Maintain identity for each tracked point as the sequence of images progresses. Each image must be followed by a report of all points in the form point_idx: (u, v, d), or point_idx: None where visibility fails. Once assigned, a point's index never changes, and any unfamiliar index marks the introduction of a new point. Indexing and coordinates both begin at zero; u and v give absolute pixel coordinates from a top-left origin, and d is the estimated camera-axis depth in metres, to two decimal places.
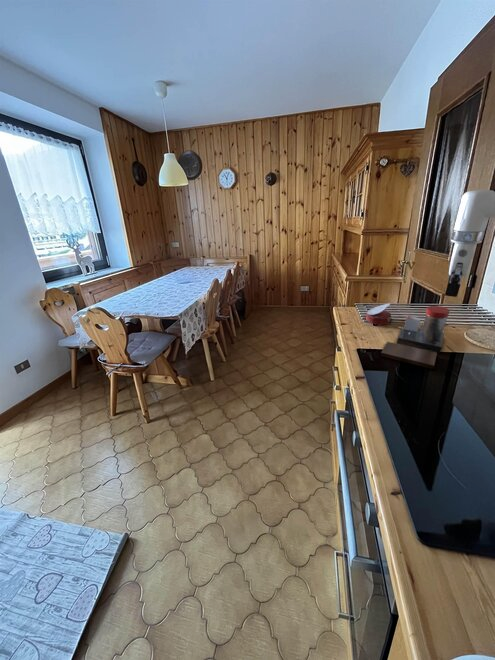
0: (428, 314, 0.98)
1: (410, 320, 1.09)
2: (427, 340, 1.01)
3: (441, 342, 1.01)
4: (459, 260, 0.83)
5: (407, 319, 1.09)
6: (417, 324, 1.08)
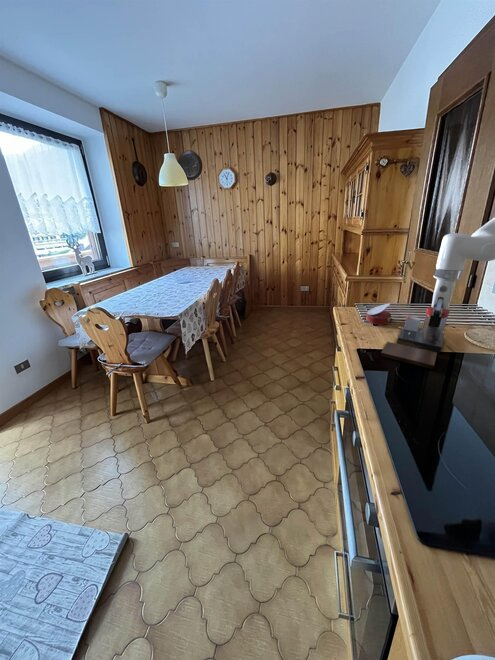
0: (428, 314, 0.98)
1: (410, 320, 1.09)
2: (427, 340, 1.01)
3: (441, 342, 1.01)
4: (440, 295, 0.92)
5: (407, 319, 1.09)
6: (417, 324, 1.08)
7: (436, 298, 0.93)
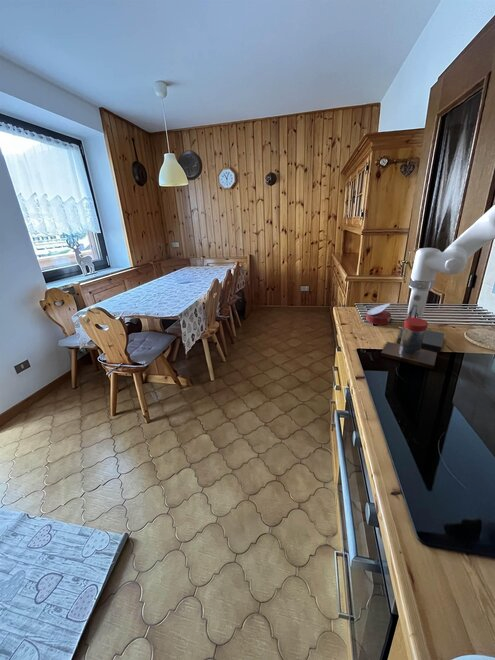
0: (406, 327, 0.93)
1: None
2: (405, 354, 0.96)
3: (441, 342, 1.01)
4: (414, 303, 1.02)
5: None
6: None
7: (411, 306, 1.03)
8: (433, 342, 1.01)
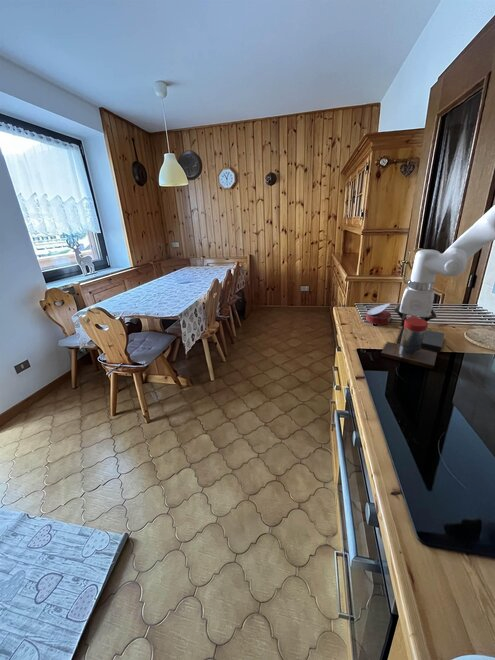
0: (406, 327, 0.93)
1: None
2: (405, 354, 0.96)
3: (441, 342, 1.01)
4: None
5: (411, 317, 1.11)
6: None
7: None
8: (433, 342, 1.01)
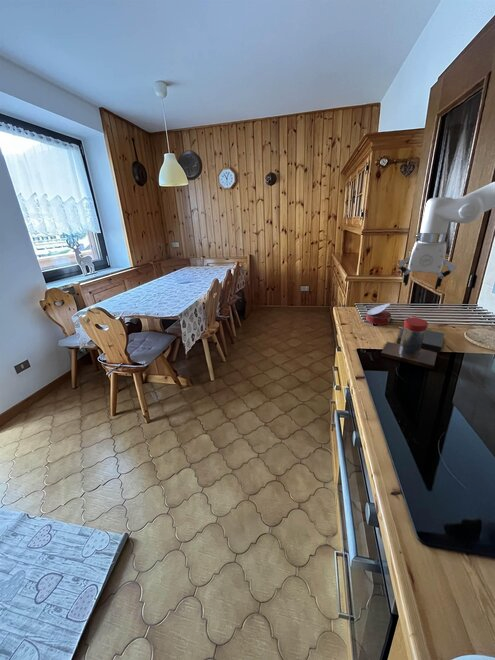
0: (406, 327, 0.93)
1: None
2: (405, 354, 0.96)
3: (441, 342, 1.01)
4: None
5: (411, 317, 1.11)
6: None
7: None
8: (433, 342, 1.01)
